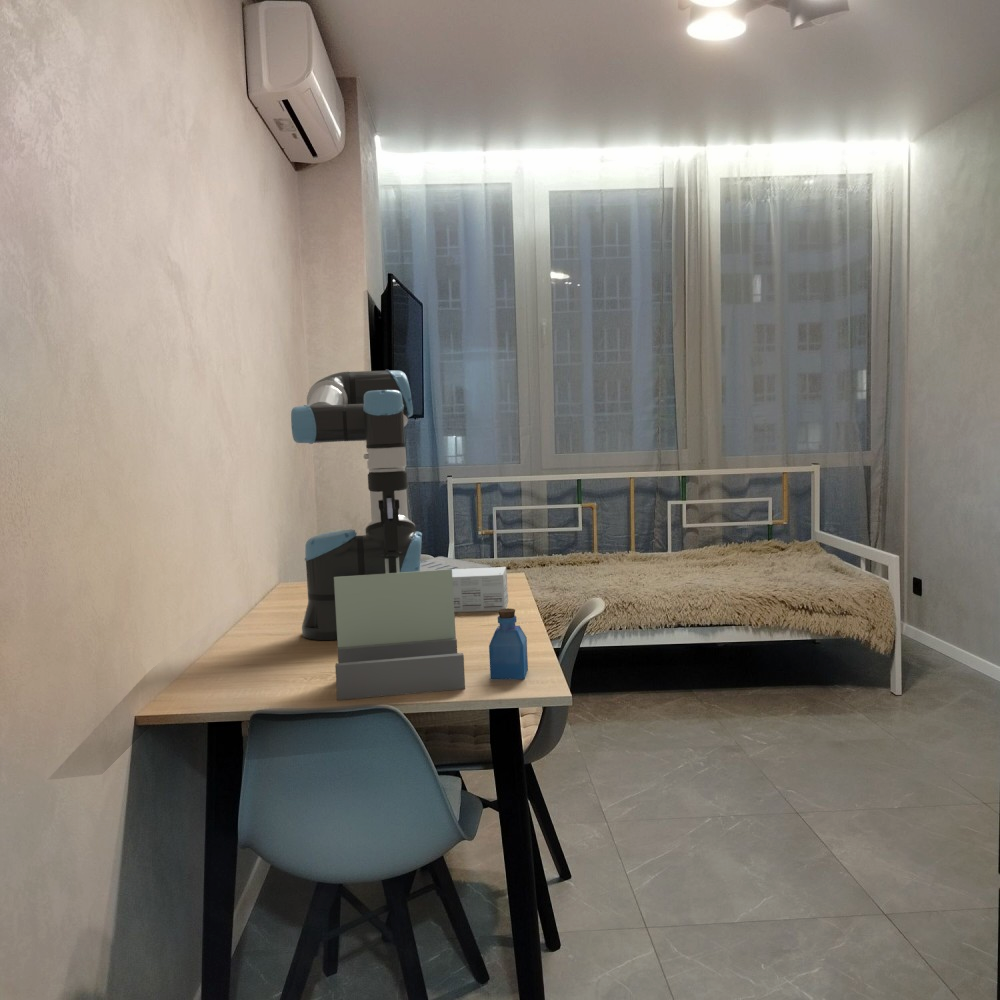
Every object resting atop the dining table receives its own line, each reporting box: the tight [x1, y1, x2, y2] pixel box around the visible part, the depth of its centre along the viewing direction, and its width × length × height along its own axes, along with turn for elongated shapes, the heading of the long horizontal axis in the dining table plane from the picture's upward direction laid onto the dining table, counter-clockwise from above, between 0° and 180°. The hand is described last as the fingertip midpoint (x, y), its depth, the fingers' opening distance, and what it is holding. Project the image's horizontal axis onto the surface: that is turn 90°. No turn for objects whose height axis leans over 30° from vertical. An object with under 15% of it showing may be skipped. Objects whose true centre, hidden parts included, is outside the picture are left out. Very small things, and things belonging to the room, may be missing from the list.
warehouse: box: [420, 555, 495, 571], centre depth 251 cm, size 30×14×8 cm, turn 34°
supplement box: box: [444, 566, 509, 613], centre depth 222 cm, size 17×13×9 cm
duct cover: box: [334, 569, 457, 648], centre depth 162 cm, size 13×22×1 cm
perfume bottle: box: [488, 607, 529, 680], centre depth 158 cm, size 6×6×12 cm
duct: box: [334, 637, 466, 701], centre depth 155 cm, size 13×22×6 cm, turn 99°
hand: (393, 590), depth 169 cm, fingers closed
